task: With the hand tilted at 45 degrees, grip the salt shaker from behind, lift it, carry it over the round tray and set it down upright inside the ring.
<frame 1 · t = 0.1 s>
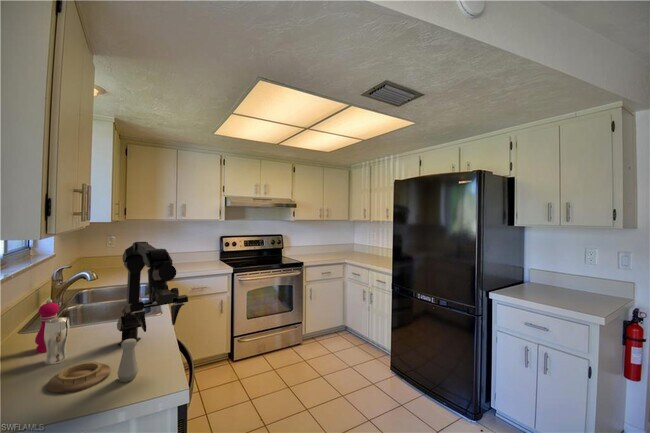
hand: (159, 328, 103), 15 cm above the worktop, tool pointing down, fingers open, 9 cm apart
ring tray: (80, 379, 97), on the worktop
pepper mill: (47, 349, 117), on the worktop
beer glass: (55, 361, 108), on the worktop
salt shaker: (127, 379, 98), on the worktop
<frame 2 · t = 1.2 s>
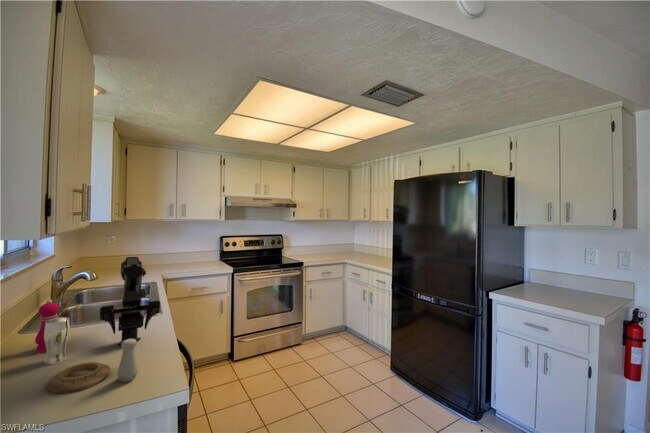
hand: (130, 331, 104), 13 cm above the worktop, tool tilted 45°, fingers open, 9 cm apart
nothing on the worktop moved.
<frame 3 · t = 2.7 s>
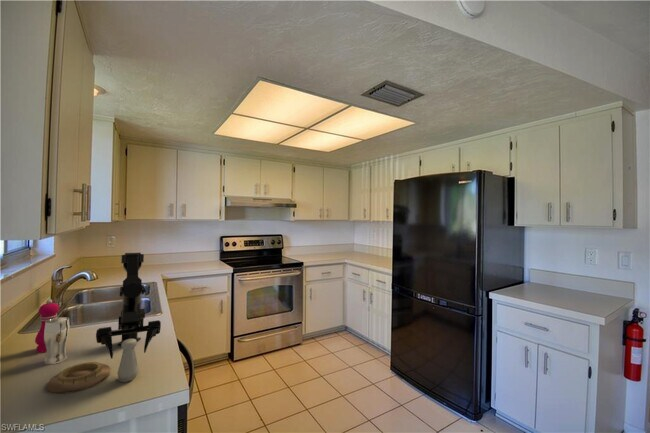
hand: (128, 355, 98), 8 cm above the worktop, tool tilted 45°, fingers open, 9 cm apart
nothing on the worktop moved.
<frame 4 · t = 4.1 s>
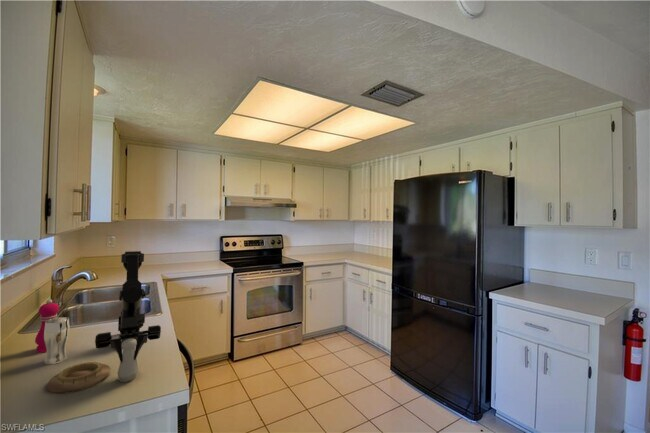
hand: (128, 360, 97), 7 cm above the worktop, tool tilted 45°, fingers closed on salt shaker, 3 cm apart
salt shaker: (127, 379, 98), on the worktop, touching gripper
everything else where it was.
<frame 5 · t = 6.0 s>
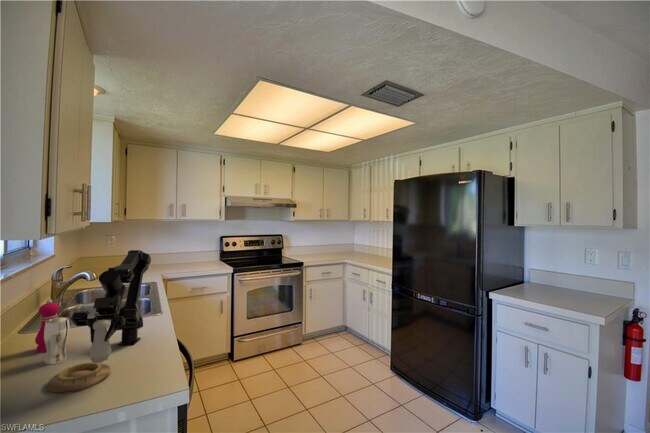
hand: (98, 341, 95), 13 cm above the worktop, tool tilted 45°, fingers closed on salt shaker, 3 cm apart
salt shaker: (100, 360, 97), point 6 cm above the worktop, touching gripper
everything else where it was.
when the fingers open (9 cm above the worktop, at t = 7.9 s): salt shaker drops 1 cm, resting on ring tray.
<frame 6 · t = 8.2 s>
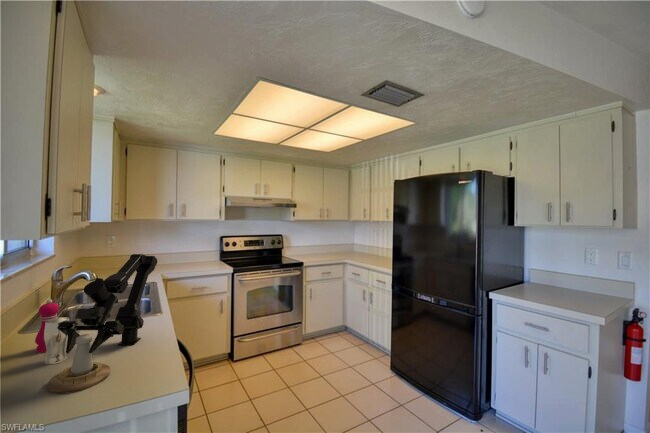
hand: (78, 353, 95), 9 cm above the worktop, tool tilted 45°, fingers open, 7 cm apart
salt shaker: (81, 375, 97), point 1 cm above the worktop, touching ring tray
everything else where it was.
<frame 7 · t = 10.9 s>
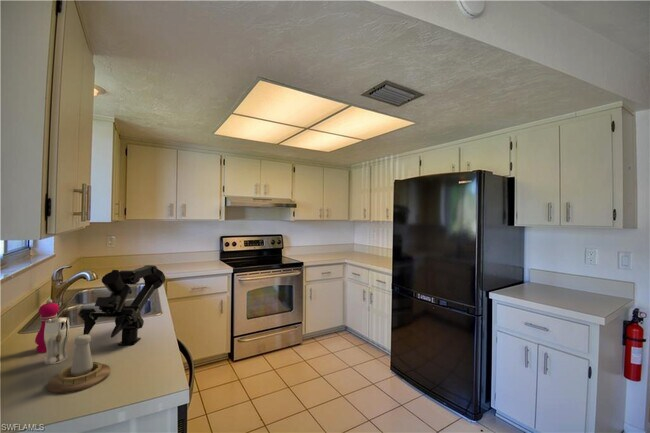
hand: (97, 337, 105), 11 cm above the worktop, tool tilted 45°, fingers open, 9 cm apart
nothing on the worktop moved.
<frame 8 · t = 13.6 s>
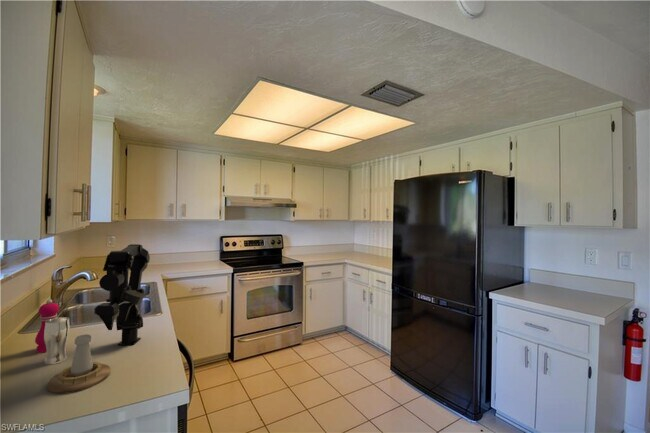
hand: (117, 325, 110), 13 cm above the worktop, tool pointing down, fingers open, 9 cm apart
nothing on the worktop moved.
at the end: salt shaker 0.4 cm off-centre on the ring tray, point 1.0 cm above the ring tray's base; salt shaker tilted 0°; the gripper is holding nothing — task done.
